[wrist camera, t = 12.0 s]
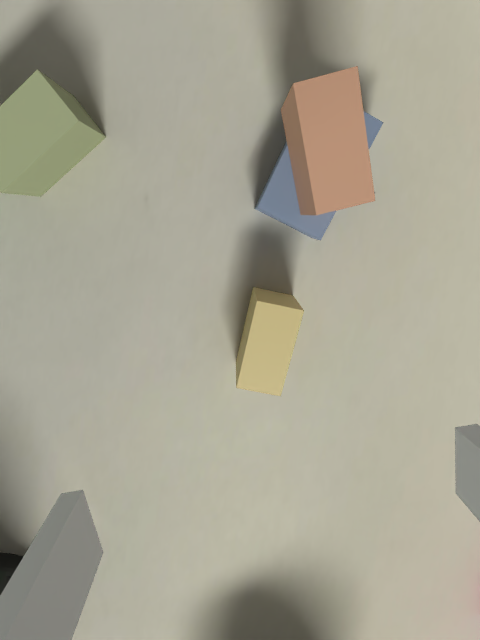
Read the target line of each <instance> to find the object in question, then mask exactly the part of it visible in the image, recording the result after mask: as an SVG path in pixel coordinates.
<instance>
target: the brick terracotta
mask: <svg viewBox="0 0 480 640" xmlns="http://www.w3.org/2000/svg"><path fill="white" fill-rule="evenodd" d="M281 113H282V119H283V124H284V129H285V135H286V140H287V145H288V151H289V156H290V161H291V167H292V172H293V177H294V183H295V188H296V193H297V199H298V204H299V209H300V215H320V214H324V213H328V212H332V211H336V210H340V209H344V208H348V207H352V206H356V205H360V204H364V203H368V202H372V201H375V195H374V187H373V180H372V172H371V164H370V157H369V149H368V142H367V134H366V126H365V119H364V111H363V103H362V96H361V88H360V81H359V73H358V66H356V67H352V68H349V69H345V70H341V71H337V72H334V73H330V74H326V75H322V76H319V77H315V78H311V79H307V80H304V81H300V82H296V83H293V85H292V87H291V89H290V91H289V93H288V95H287V98H286V100H285V102H284V104H283V106H282V108H281Z"/></svg>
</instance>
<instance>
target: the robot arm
mask: <svg viewBox="0 0 480 640" xmlns="http://www.w3.org/2000/svg"><path fill="white" fill-rule="evenodd" d="M455 473H456V494H457V495H458V497H459V498H460V499H461V500H462V501H463V502H464V504H465V505H466V506H467V507H468V508H469V509H470V511H471V512H472V513H473V514H474V515H475V517H476V518H477V519H478V520H479V521H480V426H479V425H478V424H473V425H467V426H461V427H455ZM102 554H103V550H102V547H101V544H100V541H99V538H98V534H97V531H96V528H95V525H94V522H93V519H92V516H91V513H90V510H89V507H88V504H87V501H86V498H85V495H84V492H83V490H79V491H73V492H67V493H61V495H60V496H59V498H58V500H57V501H56V503H55V505H54V506H53V508H52V510H51V511H50V513H49V515H48V516H47V518H46V520H45V522H44V523H43V525H42V527H41V528H40V530H39V532H38V533H37V535H36V537H35V538H34V540H33V542H32V543H31V545H30V547H29V548H28V550H27V552H26V553H25V555H24V557H23V556H19V555H14V554H7V553H0V640H72V637H73V634H74V631H75V629H76V626H77V623H78V620H79V618H80V615H81V612H82V609H83V607H84V604H85V601H86V598H87V596H88V593H89V590H90V587H91V585H92V582H93V579H94V576H95V574H96V571H97V568H98V565H99V563H100V560H101V557H102Z"/></svg>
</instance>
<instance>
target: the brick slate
mask: <svg viewBox="0 0 480 640" xmlns="http://www.w3.org/2000/svg"><path fill="white" fill-rule="evenodd" d="M364 119H365V126H366V134H367V142H368V149H369V148H370V147H371V145H372V143H373V141H374V139H375V137H376V135H377V133H378V132H379V130H380V128H381V126H382V124H383V122H382V121H380V120H378V119H376V118H375V117H373V116H371V115H370V114H368V113H366V112H364ZM255 209H256V210H258V211H260V212H262V213H264V214H266V215H268V216H270V217H272V218H274V219H276V220H278V221H280V222H282V223H284V224H286V225H288V226H290V227H292V228H294V229H295V230H297V231H299V232H301V233H303V234H305V235H307V236H309V237H311V238H314V239H318V240H321V239H322V237H323V235H324V233H325V231H326V229H327V227H328V225H329V224H330V222H331V220H332V218H333V216H334V214H335V212H336V211H332V212H328V213H324V214H320V215H300V209H299V204H298V199H297V193H296V188H295V183H294V177H293V172H292V167H291V161H290V156H289V151H288V145H287V141H286V143H285V145H284V147H283V150H282V152H281V154H280V156H279V158H278V160H277V162H276V164H275V166H274V169H273V171H272V173H271V175H270V177H269V179H268V181H267V183H266V185H265V187H264V190H263V192H262V194H261V196H260V198H259V200H258V202H257V204H256V206H255Z"/></svg>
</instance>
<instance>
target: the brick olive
mask: <svg viewBox="0 0 480 640" xmlns="http://www.w3.org/2000/svg"><path fill="white" fill-rule="evenodd" d="M105 138H106V136H105V135H104V134H103V133H102V131H101V130H100V129H99V128H98V126H97V125H96V124H95V123H94V121H93V120H92V119H91V118H90V116H89V115H88V114H87V113H86V111H85V110H84V109H83V108H82V106H81V105H80V104H79V102H78V101H77V100H76V99H75V97H74V96H73V95H71V94H70V93H69V92H67V91H66V90H65V89H63V88H62V87H61V86H59V85H58V84H56V83H55V82H54V81H52V80H51V79H50V78H48V77H47V76H46V75H44V74H43V73H42V72H40V71H39V70H38V69H37V70H36V71H35V72H34V73H33V74H32V75H31V76H30V77H29V78H28V79H27V80H26V81H25V82H24V83H23V84H22V85H21V86H20V87H19V88H18V89H17V90H16V91H15V92H14V93H13V94H12V95H11V96H10V97H9V98H8V99H7V100H6V101H5V102H4V103H3V104H2V105H1V106H0V192H1V193H8V194H19V195H29V196H40V197H41V196H42V195H43V194H44V193H46V192H47V191H48V190H49V189H50V188H51V187H52V186H53V185H54V184H55V183H57V182H58V181H59V180H60V179H61V178H62V177H63V176H64V175H65V174H66V173H67V172H69V171H70V170H71V169H72V168H73V167H74V166H75V165H76V164H77V163H78V162H80V161H81V160H82V159H83V158H84V157H85V156H86V155H87V154H88V153H89V152H91V151H92V150H93V149H94V148H95V147H96V146H97V145H98V144H99V143H100V142H102V141H103V140H104V139H105Z"/></svg>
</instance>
